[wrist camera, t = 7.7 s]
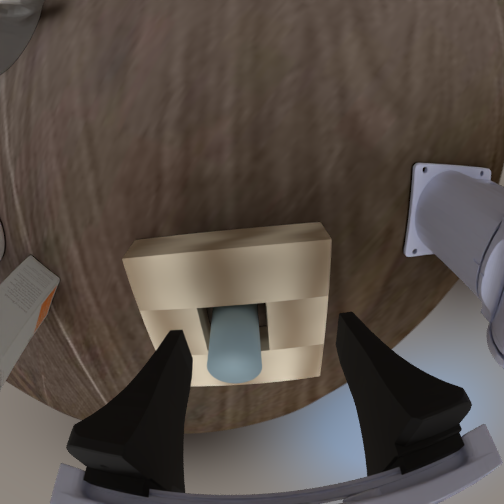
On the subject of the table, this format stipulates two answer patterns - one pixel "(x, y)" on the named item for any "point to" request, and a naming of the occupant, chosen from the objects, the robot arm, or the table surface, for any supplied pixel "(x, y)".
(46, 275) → the skincare box
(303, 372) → the socket block
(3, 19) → the coffee mug
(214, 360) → the peg
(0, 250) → the pill bottle
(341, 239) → the table surface
